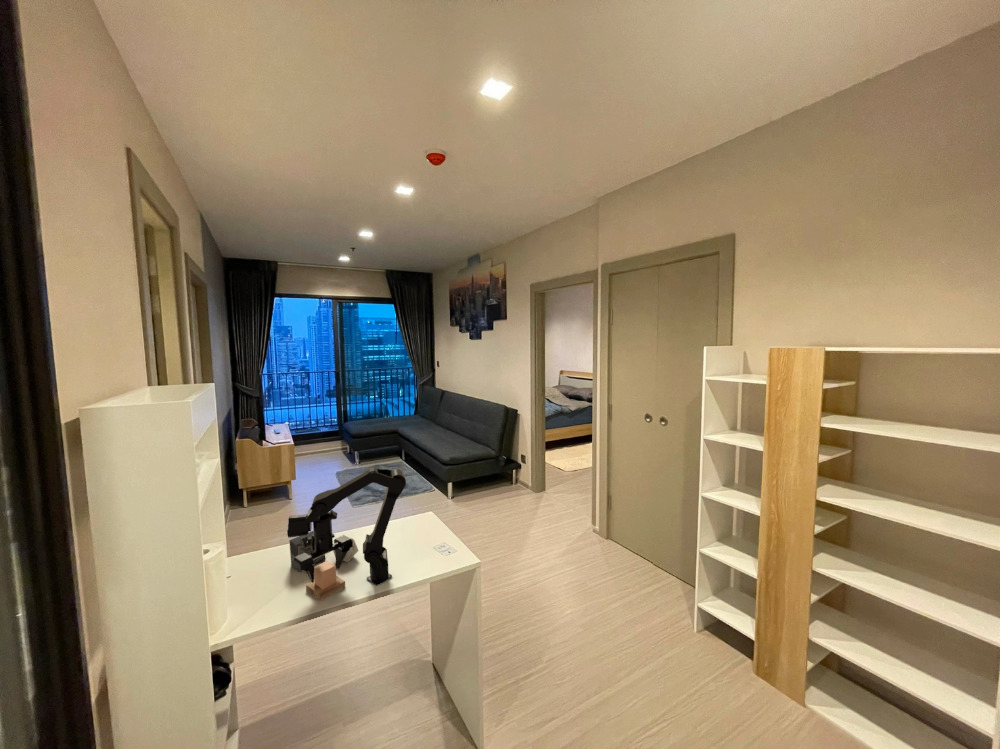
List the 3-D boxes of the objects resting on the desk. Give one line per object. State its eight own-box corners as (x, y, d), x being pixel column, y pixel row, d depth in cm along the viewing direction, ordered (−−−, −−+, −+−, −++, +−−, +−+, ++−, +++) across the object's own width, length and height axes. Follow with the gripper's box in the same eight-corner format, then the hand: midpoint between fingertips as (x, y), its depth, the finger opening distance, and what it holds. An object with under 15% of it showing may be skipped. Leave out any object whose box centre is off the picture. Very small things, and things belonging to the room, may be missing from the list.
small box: (317, 553, 159) (316, 528, 158) (326, 559, 155) (324, 533, 154) (290, 565, 151) (288, 539, 150) (298, 572, 147) (296, 545, 146)
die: (335, 569, 149) (351, 548, 149) (323, 551, 154) (338, 531, 153) (351, 566, 157) (366, 546, 157) (339, 549, 161) (354, 529, 161)
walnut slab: (345, 586, 138) (345, 581, 138) (320, 600, 131) (320, 594, 131) (330, 577, 144) (330, 571, 143) (306, 590, 137) (305, 584, 136)
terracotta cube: (336, 581, 138) (335, 565, 137) (322, 589, 134) (321, 572, 133) (328, 576, 141) (327, 560, 140) (314, 583, 137) (313, 567, 136)
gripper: (335, 515, 148) (337, 555, 149) (282, 536, 133) (285, 580, 134) (352, 523, 141) (354, 565, 143) (300, 546, 126) (302, 593, 128)
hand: (325, 575), depth 137 cm, fingers open, 9 cm apart
